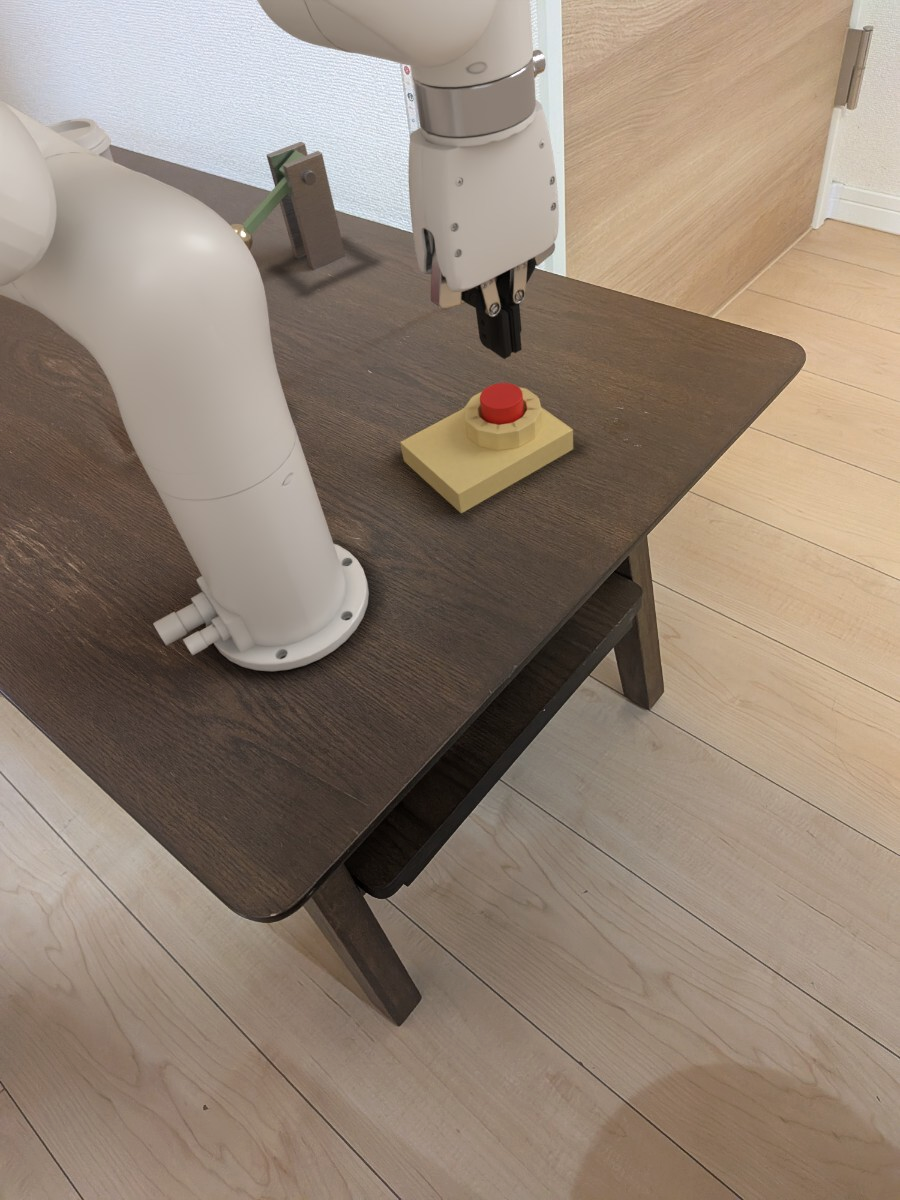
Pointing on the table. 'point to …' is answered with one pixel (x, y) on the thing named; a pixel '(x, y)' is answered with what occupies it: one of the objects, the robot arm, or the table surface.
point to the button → (501, 403)
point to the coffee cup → (85, 135)
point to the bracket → (308, 206)
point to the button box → (485, 451)
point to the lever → (264, 207)
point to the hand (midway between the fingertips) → (501, 347)
